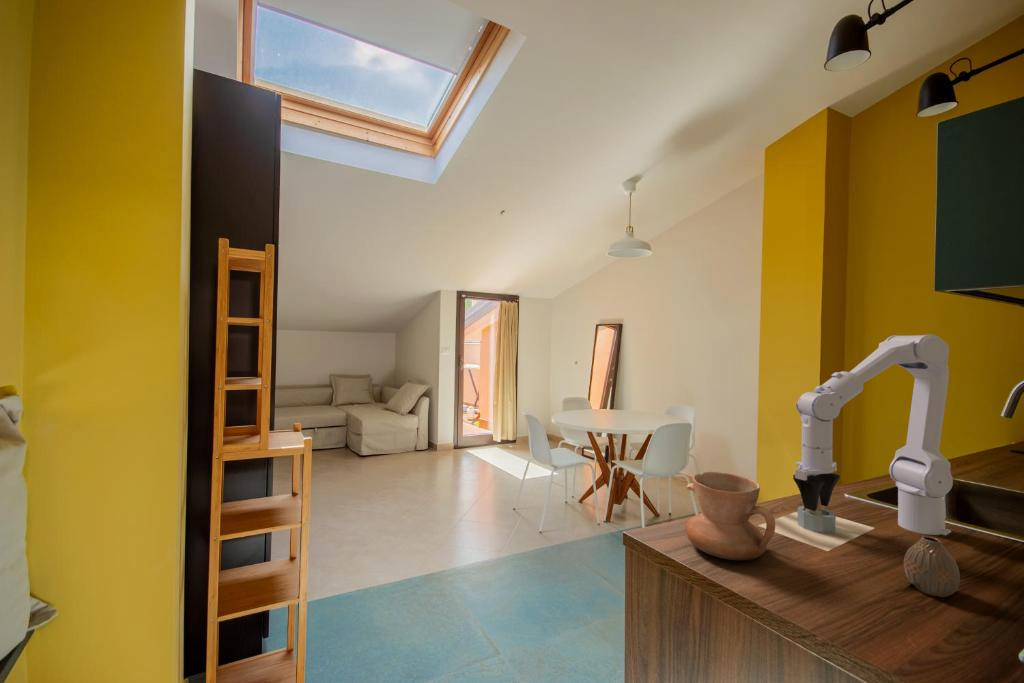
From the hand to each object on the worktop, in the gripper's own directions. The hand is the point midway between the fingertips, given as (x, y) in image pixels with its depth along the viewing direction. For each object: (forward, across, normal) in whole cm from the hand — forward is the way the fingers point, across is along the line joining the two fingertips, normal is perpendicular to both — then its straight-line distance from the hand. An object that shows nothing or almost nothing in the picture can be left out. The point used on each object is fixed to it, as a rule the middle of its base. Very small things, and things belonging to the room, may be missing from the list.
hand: (816, 507), depth 99 cm
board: (+5, 0, 0) cm, 5 cm away
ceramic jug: (+6, +27, -4) cm, 28 cm away
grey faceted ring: (+4, 0, 0) cm, 4 cm away
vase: (+6, +10, +22) cm, 25 cm away
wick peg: (+4, 0, 0) cm, 4 cm away
